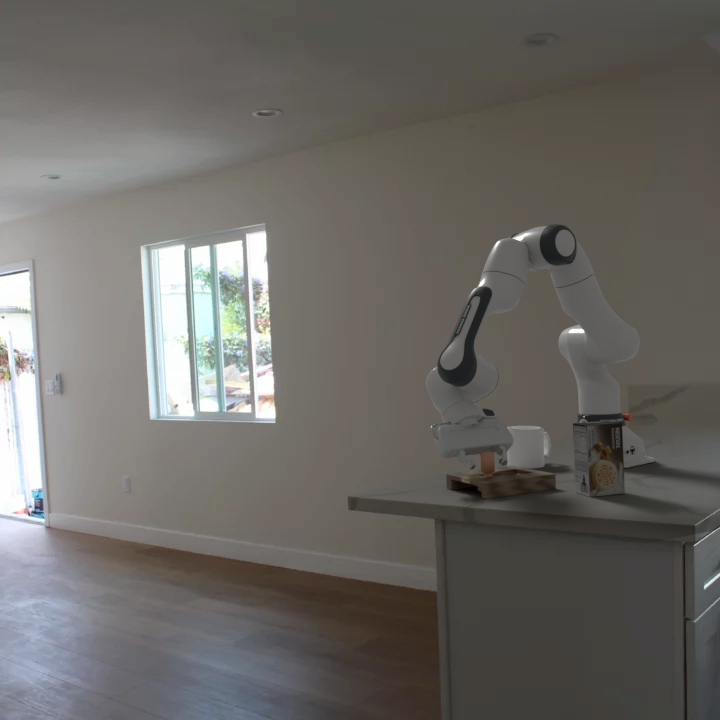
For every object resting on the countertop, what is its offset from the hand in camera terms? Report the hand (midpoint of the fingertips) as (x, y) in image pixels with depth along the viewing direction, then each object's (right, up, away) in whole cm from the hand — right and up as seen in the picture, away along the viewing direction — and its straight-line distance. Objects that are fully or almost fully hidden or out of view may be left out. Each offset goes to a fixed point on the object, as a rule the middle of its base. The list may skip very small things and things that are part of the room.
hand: (488, 465), depth 189 cm
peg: (0, -6, 0) cm, 6 cm away
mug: (+17, -5, +35) cm, 40 cm away
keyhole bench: (+3, -6, +2) cm, 7 cm away
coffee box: (+24, -5, -7) cm, 26 cm away
